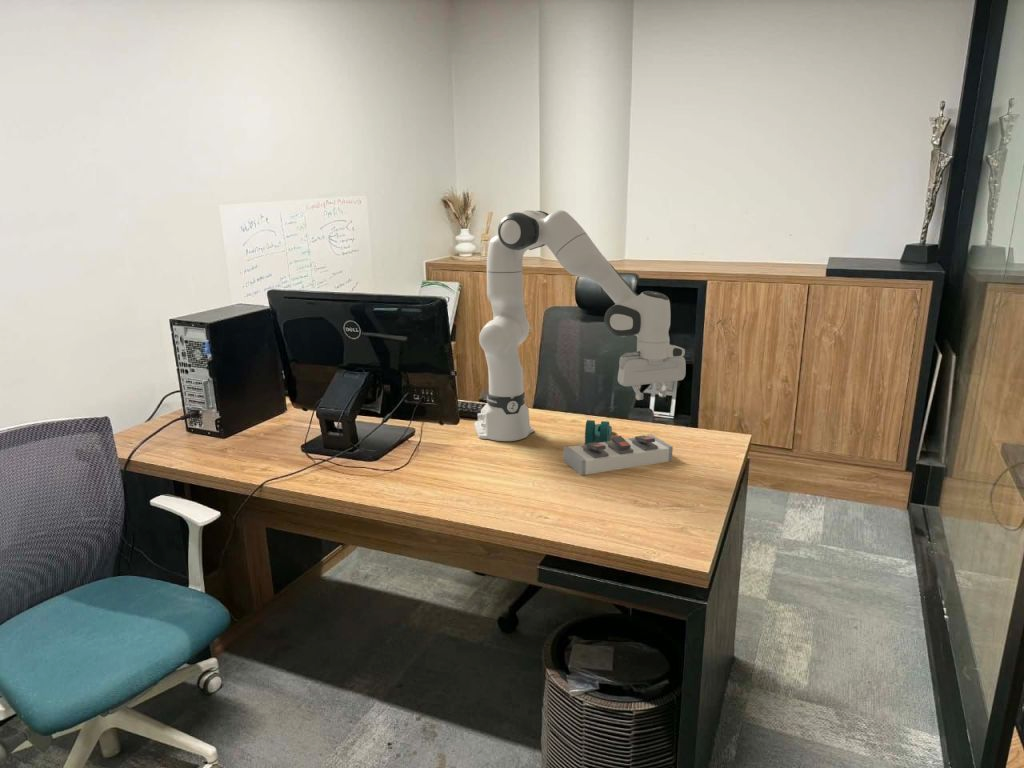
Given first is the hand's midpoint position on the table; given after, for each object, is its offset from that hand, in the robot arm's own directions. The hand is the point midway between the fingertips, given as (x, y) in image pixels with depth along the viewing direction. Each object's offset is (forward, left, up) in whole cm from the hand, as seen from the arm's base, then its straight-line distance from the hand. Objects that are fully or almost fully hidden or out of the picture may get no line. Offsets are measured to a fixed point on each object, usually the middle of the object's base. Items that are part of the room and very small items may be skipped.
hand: (650, 397), depth 198 cm
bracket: (-23, -4, -20) cm, 30 cm away
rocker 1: (-2, -16, -13) cm, 21 cm away
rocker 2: (-2, -8, -13) cm, 16 cm away
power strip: (-4, -8, -19) cm, 21 cm away
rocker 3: (-2, 0, -13) cm, 13 cm away
